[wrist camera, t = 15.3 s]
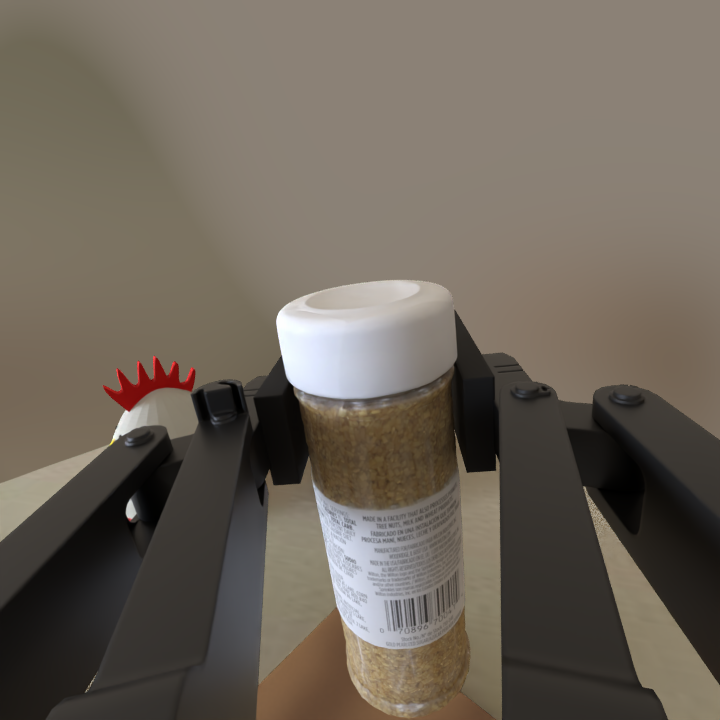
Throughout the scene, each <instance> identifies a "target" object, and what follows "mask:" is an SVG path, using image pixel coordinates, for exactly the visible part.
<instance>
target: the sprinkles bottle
mask: <svg viewBox="0 0 720 720" xmlns="http://www.w3.org/2000/svg"><path fill="white" fill-rule="evenodd" d="M277 330H278V336H279V342H280V348H281V353H282V358H283V363H284V368H285V373H286V377H287V379H288V381H289V382H290V383H291V384H292V385H293V386H294V388H293V390H294V394H295V396H296V397H297V399H298V400H299V405H300V412H301V418H302V421H303V424H304V432H305V437H306V443H307V445H308V451H309V455H310V460H311V476H312V482H313V487H314V492H315V497H316V502H317V506H318V511H319V516H320V521H321V526H322V531H323V536H324V541H325V546H326V552H327V557H328V562H329V568H330V573H331V578H332V583H333V589H334V594H335V599H336V603H337V608H338V610H339V612H340V615H341V621H342V625H343V629H344V636H345V639H346V655H347V667H348V671H349V674H350V677H351V680H352V682H353V684H354V685H355V687H356V689H357V690H358V692H359V693H360V695H361V697H362V698H364V699H365V700H366V701H367V702H368V703H370V704H371V705H372V706H373V707H375V708H377V709H379V710H381V711H383V712H384V713H386V714H388V715H394V716H397V717H401V718H408V719H410V718H417V717H423V716H426V715H430V714H431V713H433V712H434V711H439V710H440V709H442V708H443V707H445V706H446V705H447V704H448V703H449V702H450V701H451V700H453V699H454V698H455V697H456V696H457V694H458V693H459V692H460V690H461V688H462V686H463V684H464V682H465V679H466V676H467V674H468V672H469V663H470V644H469V639H468V635H467V633H466V631H465V615H464V604H465V583H464V562H463V538H462V517H461V498H460V479H459V470H458V464H457V457H456V444H455V433H454V428H455V424H454V415H453V397H452V391H451V382H452V378H453V375H454V363H455V361H456V359H457V342H456V326H455V313H454V303H453V297H452V295H451V293H450V292H449V291H448V290H447V289H446V288H445V287H443V286H441V285H438V284H435V283H431V282H426V281H417V280H388V281H374V282H365V283H358V284H351V285H345V286H340V287H335V288H331V289H327V290H322V291H318V292H315V293H312V294H309V295H306V296H303V297H301V298H298V299H296V300H294V301H292V302H290V303H289V304H287V305H285V307H283V308H282V309H281V311H280V312H279V314H278V317H277Z"/></svg>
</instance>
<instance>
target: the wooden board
mask: <svg viewBox="0 0 720 720" xmlns="http://www.w3.org/2000/svg"><path fill="white" fill-rule="evenodd" d="M256 720H496V719H494V718H493V717H492V716H491V715H489V714H488V713H487V712H486V711H484V710H483V709H482V708H480V707H479V706H478V705H477V704H475V703H474V702H473V701H472V700H470V699H469V698H468V697H466V696H465V695H464V694H463V693H461V692H459V693H458V694H457V696H456V697H455V698H454V699H453V700H451V701H450V702H449V703H448V704H447V705H446V706H445V707H443V708H442V709H440V710H439V711H434V712H433V713H431V714H430V715H426V716H423V717H417V718H410V719H408V718H401V717H397V716H394V715H388V714H386V713H384V712H383V711H381V710H379V709H377V708H375V707H373V706H372V705H371V704H370V703H368V702H367V701H366V700H365V699H364V698H362V697H361V695H360V693H359V692H358V690H357V689H356V687H355V685H354V684H353V682H352V680H351V677H350V674H349V671H348V667H347V655H346V639H345V636H344V629H343V625H342V621H341V615H340V612H339V610H338V608H337V607H336V608H335V609H334V610H333V611H332V612H331V613H330V614H329V615H328V616H327V617H326V618H325V619H324V620H323V621H322V622H321V623H320V624H319V625H318V626H317V627H316V628H315V629H314V630H313V631H312V632H311V633H310V634H309V635H308V636H307V637H306V638H305V639H304V640H303V641H302V642H301V643H300V644H299V645H298V646H297V647H296V648H295V649H294V650H293V651H292V652H291V653H290V654H289V655H288V656H287V657H286V658H285V659H284V660H283V661H282V662H281V663H280V664H279V665H278V666H277V667H276V668H275V669H274V670H273V671H272V672H271V673H270V674H269V675H268V676H267V677H266V678H265V679H264V680H263V681H262V682H261V683H260V684H259V685H258V694H257V712H256Z"/></svg>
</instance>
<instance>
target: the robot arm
mask: <svg viewBox="0 0 720 720" xmlns="http://www.w3.org/2000/svg"><path fill="white" fill-rule="evenodd" d="M454 313H455V326H456V342H457V359H456V361H455V363H454V375H453V378H452V382H451V391H452V397H453V415H454V424H455V428H454V429H455V433H456V436H457V440H458V443H459V447H460V450H461V454H462V457H463V461H464V464H465V468H466V471H467V473H468V472H484V471H496V455H497V457H498V460H499V462H500V557H501V655H502V720H668V718H667V716H666V713H665V711H664V708H663V705H662V703H661V701H660V699H659V698H658V696H657V695H656V693H655V692H654V690H653V689H649V688H644V687H642V685H641V683H640V682H639V680H638V677H637V674H636V671H635V668H634V665H633V661H632V658H631V654H630V651H629V647H628V644H627V640H626V637H625V633H624V630H623V626H622V623H621V619H620V616H619V612H618V609H617V605H616V602H615V598H614V594H613V591H612V587H611V584H610V580H609V577H608V573H607V570H606V566H605V563H604V559H603V556H602V552H601V549H600V545H599V542H598V538H597V535H596V531H595V527H594V524H593V520H592V517H591V513H590V510H589V506H588V503H587V499H586V496H585V492H584V489H583V486H586V489H587V492H588V495H589V496H590V498H591V499H592V500H593V502H594V503H595V505H596V506H597V508H598V509H599V511H600V512H601V514H602V515H603V516H604V518H605V519H606V521H607V522H608V524H609V525H610V527H611V528H612V529H613V531H614V532H615V534H616V535H617V537H618V538H619V540H620V541H621V543H622V544H623V545H624V547H625V548H626V550H627V551H628V553H629V554H630V556H631V557H632V559H633V560H634V561H635V563H636V564H637V566H638V567H639V569H640V570H641V572H642V573H643V574H644V576H645V577H646V579H647V580H648V582H649V583H650V585H651V586H652V588H653V589H654V590H655V592H656V593H657V595H658V596H659V598H660V599H661V601H662V602H663V604H664V605H665V606H666V608H667V609H668V611H669V612H670V614H671V615H672V617H673V618H674V619H675V621H676V622H677V624H678V625H679V627H680V628H681V630H682V631H683V633H684V634H685V635H686V637H687V638H688V640H689V641H690V643H691V644H692V646H693V647H694V648H695V650H696V651H697V653H698V654H699V656H700V657H701V659H702V660H703V662H704V663H705V664H706V666H707V667H708V669H709V670H710V672H711V673H712V675H713V676H714V678H715V679H716V680H717V682H718V683H719V685H720V440H719V439H718V438H716V437H715V436H713V435H712V434H711V433H709V432H708V431H707V430H705V429H704V428H702V427H701V426H700V425H698V424H697V423H695V422H694V421H693V420H691V419H690V418H688V417H687V416H686V415H684V414H683V413H681V412H680V411H679V410H677V409H676V408H675V407H673V406H672V405H670V404H669V403H668V402H666V401H665V400H663V399H662V398H661V397H659V396H658V395H656V394H654V393H652V392H650V391H649V390H645V389H642V388H638V387H637V386H632V385H630V386H628V385H617V386H616V385H614V386H607V387H602V388H600V389H598V390H596V391H595V393H594V395H593V404H587V403H573V402H565V401H560V400H558V397H557V394H556V392H555V390H554V389H553V388H551V387H550V386H548V385H546V384H542V383H538V382H532V380H531V379H530V378H529V376H528V375H527V374H526V373H525V371H523V369H522V368H521V366H519V364H518V362H517V361H516V360H515V359H514V358H513V357H511V356H509V355H507V354H505V353H493V354H481V353H480V351H479V349H478V348H477V346H476V344H475V343H474V341H473V339H472V338H471V336H470V334H469V333H468V331H467V329H466V327H465V326H464V324H463V323H462V321H461V319H460V317H459V316H458V314H457V312H456V311H455V310H454ZM293 388H294V386H293V385H292V384H291V383H290V382H289V381H288V379H287V377H286V373H285V368H284V363H283V358H282V355H281V357H280V358H279V360H278V361H277V363H276V365H275V366H274V367H273V369H272V371H271V372H270V373H269V375H268V376H259V377H256V378H255V379H253V380H252V381H250V382H248V383H247V384H246V386H245V387H244V388H243V387H242V383H241V382H240V381H238V380H231V379H228V380H219V381H215V382H212V383H209V384H206V385H203V386H201V387H199V388H197V389H196V390H194V391H193V392H192V393H191V394H190V395H191V398H192V402H193V405H194V409H195V412H196V415H197V419H198V422H199V423H198V425H197V428H196V430H195V433H194V434H191V435H187V436H183V437H178V438H174V439H170V437H169V434H168V431H167V428H166V427H164V426H162V425H152V426H142V427H139V428H135V429H133V430H131V432H128V433H126V434H124V435H123V436H121V437H120V438H118V439H117V440H116V441H114V442H113V443H112V444H111V445H110V446H109V447H108V448H107V449H105V450H104V451H103V452H102V453H101V454H100V455H99V456H97V457H96V458H95V459H94V460H93V461H92V462H91V463H90V464H88V465H87V466H86V467H85V468H84V469H83V470H82V471H80V472H79V473H78V474H77V475H76V476H75V477H74V478H73V479H71V480H70V481H69V482H68V483H67V484H66V485H65V486H63V487H62V488H61V489H60V490H59V491H58V492H57V493H56V494H54V495H53V496H52V497H51V498H50V499H49V500H48V501H46V502H45V503H44V504H43V505H42V506H41V507H40V508H39V509H37V510H36V511H35V512H34V513H33V514H32V515H31V516H29V517H28V518H27V519H26V520H25V521H24V522H23V523H22V524H20V525H19V526H18V527H17V528H16V529H15V530H14V531H12V532H11V533H10V534H9V535H8V536H7V537H6V538H5V539H3V540H2V541H1V542H0V720H256V712H257V694H258V676H259V658H260V640H261V622H262V604H263V586H264V567H265V549H266V531H267V513H268V495H269V493H268V489H267V485H266V481H265V478H266V476H267V474H268V471H269V469H270V471H271V476H272V480H273V484H274V485H286V484H300V483H301V479H302V476H303V473H304V470H305V466H306V463H307V460H308V457H309V451H308V445H307V443H306V437H305V432H304V424H303V421H302V418H301V412H300V405H299V400H298V399H297V397H296V396H295V394H294V390H293ZM130 499H131V500H132V503H133V506H134V508H135V511H136V513H137V514H136V515H135V516H134V517H133V519H132V520H130V521H129V519H128V518H127V516H126V508H127V504H128V502H129V501H130ZM97 671H98V672H97ZM96 673H97V675H96ZM95 675H96V677H95V679H94V681H93V683H92V685H91V687H90V689H89V690H88V691H87V692H86V693H84V692H85V691H86V689H87V687H88V686H89V684H90V683H91V681H92V679H93V678H94V676H95Z"/></svg>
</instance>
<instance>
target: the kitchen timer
mask: <svg viewBox="0 0 720 720" xmlns="http://www.w3.org/2000/svg"><path fill="white" fill-rule="evenodd" d="M153 362H154V363H153V365H154V378H153V379H152V380H150V379H149V377H148V375H147V374H146V372H145V370H144V368H143V366H142V364H141V363H140V362H139V361H138V362H137V370H138V383H137V384H136V385H133V384H132V383H130V382H129V380H128V379H127V378H126V377H125V376H124V374H123V373H122V372H121V371H120V370H119V369H118V368H117V375H118V379H119V382H120V385H121V390H120V391H118V392H117V391H114V390H112V389H110V388H108V387H106V386H104V385H103V387H104V390H105V391H106V393H107V394H108V395H109V396H110V397H111V398H112V399H114V400H115V401H116V402H117V403H118V404H120V405H121V406H122V407H123V408H125V409H126V411H125V412H124V414H123V416H122V418H121V420H120V422H119V424H118V426H116V431H115V434H114V437H113V440H112V442H111V444H112V443H113V442H114V441H116V440H117V439H118V438H120V437H121V436H123V435H124V434H126V433H128V432H131V430H133V429H135V428H139V427H142V426H152V425H162V426H164V427H166V428H167V431H168V434H169V437H170V439H174V438H178V437H183V436H187V435H191V434H194V433H195V430H196V428H197V425H198V423H199V422H198V419H197V415H196V412H195V409H194V405H193V402H192V398H191V395H190V394H191V393H192V392H193V391H192V389H193V385H194V380H195V370H194V368H191V370H190V373H189V375H188V377H187V379H186V381H185V382H182V383H180V382H179V366H178V364H177V363H176V362H175V361H174V362H173V364H172V367H171V370H170V373H169V375H168V376H166V374H165V372H164V370H163V368H162V366H161V364H160V362H159V360H158V359H157V358H156V357H155V356H154V358H153ZM111 444H110V445H111ZM136 514H137V513H136V511H135V508H134V506H133V503H132V500H131V499H130V501H129V502H128V504H127V508H126V516H127V518H128V519H129V521H130V520H132V519H133V517H134V516H135V515H136Z"/></svg>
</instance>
